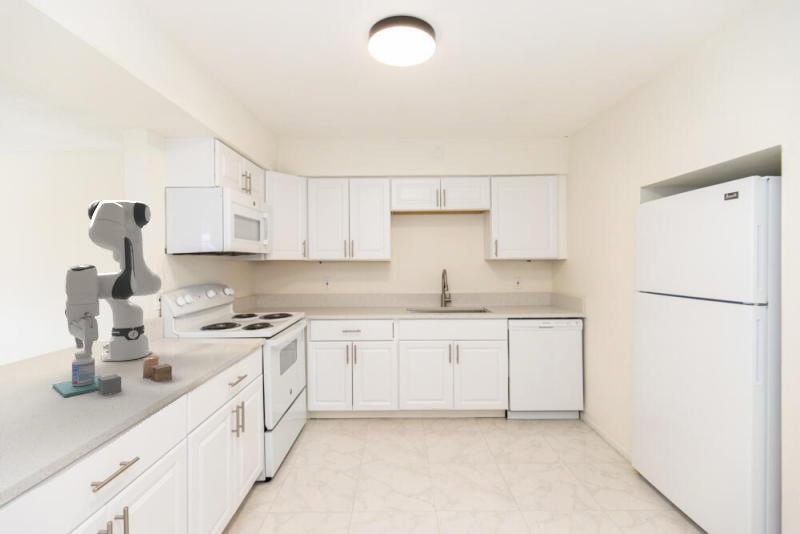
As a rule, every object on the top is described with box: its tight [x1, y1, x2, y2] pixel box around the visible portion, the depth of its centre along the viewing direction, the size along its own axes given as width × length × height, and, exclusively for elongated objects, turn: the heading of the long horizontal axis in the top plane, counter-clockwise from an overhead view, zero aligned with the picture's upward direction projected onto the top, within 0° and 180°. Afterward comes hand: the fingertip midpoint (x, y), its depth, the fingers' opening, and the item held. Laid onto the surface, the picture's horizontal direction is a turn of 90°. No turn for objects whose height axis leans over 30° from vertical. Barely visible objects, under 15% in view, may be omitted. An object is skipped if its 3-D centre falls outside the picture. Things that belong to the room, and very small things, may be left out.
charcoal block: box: [97, 373, 122, 396], centre depth 123 cm, size 5×5×5 cm
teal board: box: [52, 374, 103, 398], centre depth 128 cm, size 16×13×1 cm
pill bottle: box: [71, 350, 96, 386], centre depth 128 cm, size 6×6×11 cm
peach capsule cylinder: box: [142, 356, 160, 379], centre depth 140 cm, size 5×5×7 cm
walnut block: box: [150, 363, 173, 383], centre depth 137 cm, size 5×5×5 cm
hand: (83, 350), depth 128 cm, fingers open, 8 cm apart
